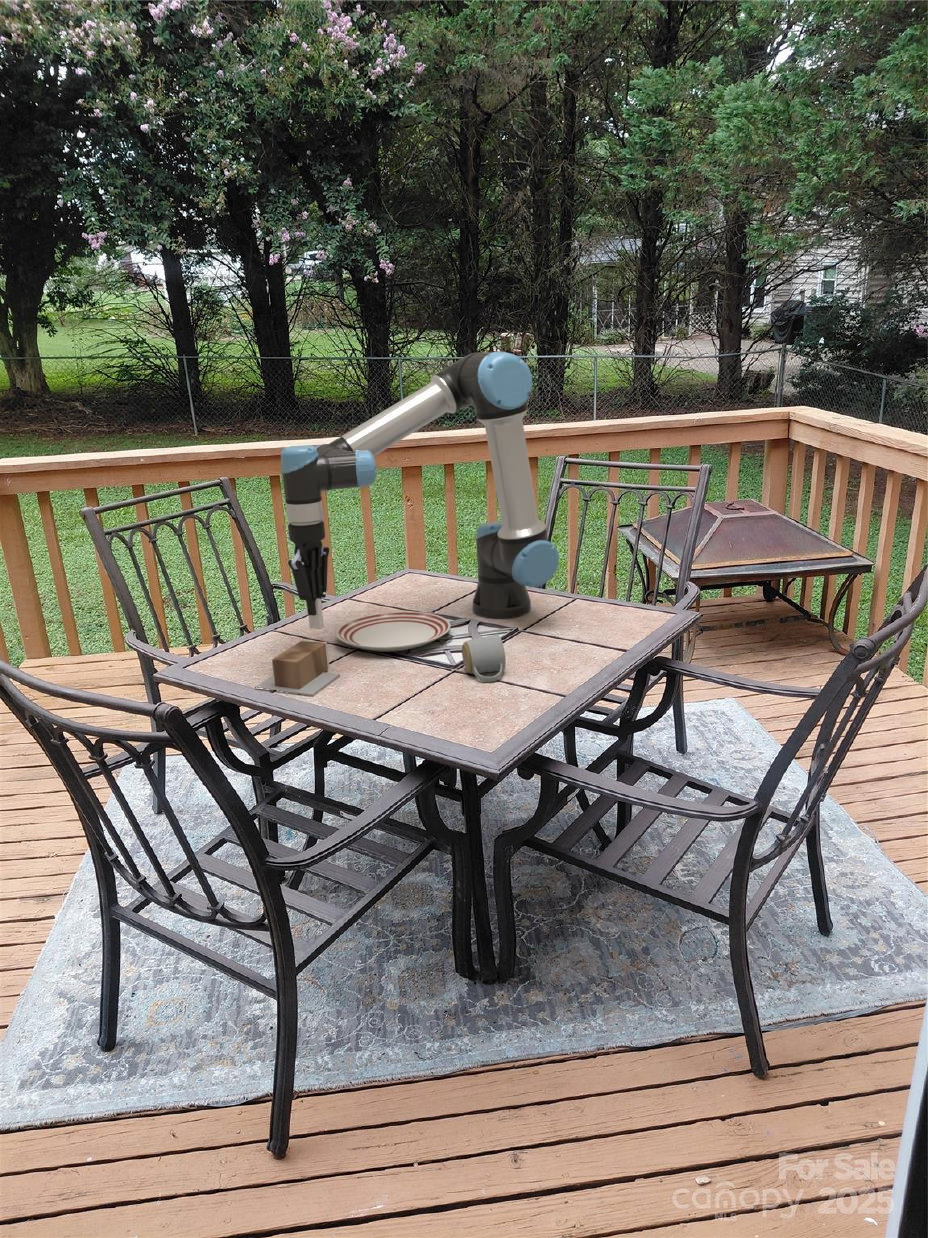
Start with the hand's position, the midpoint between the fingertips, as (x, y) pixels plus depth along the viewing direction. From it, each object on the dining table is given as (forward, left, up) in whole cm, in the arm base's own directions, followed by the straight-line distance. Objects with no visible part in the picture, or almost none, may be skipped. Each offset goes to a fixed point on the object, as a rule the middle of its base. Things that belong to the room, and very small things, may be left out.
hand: (316, 627), depth 183 cm
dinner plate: (-8, -20, -10) cm, 24 cm away
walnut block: (0, +2, -6) cm, 6 cm away
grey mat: (0, +10, -9) cm, 13 cm away
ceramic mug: (-37, -6, -9) cm, 39 cm away
